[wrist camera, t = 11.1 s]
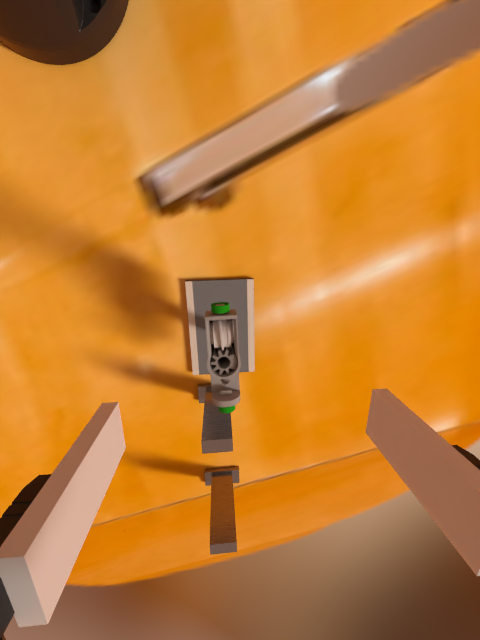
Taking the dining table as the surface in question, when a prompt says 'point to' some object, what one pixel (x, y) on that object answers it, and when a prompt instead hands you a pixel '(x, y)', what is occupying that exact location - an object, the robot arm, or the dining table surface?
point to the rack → (219, 474)
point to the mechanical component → (223, 355)
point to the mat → (200, 301)
